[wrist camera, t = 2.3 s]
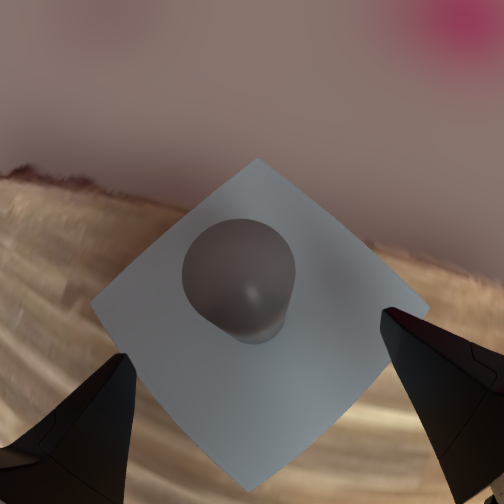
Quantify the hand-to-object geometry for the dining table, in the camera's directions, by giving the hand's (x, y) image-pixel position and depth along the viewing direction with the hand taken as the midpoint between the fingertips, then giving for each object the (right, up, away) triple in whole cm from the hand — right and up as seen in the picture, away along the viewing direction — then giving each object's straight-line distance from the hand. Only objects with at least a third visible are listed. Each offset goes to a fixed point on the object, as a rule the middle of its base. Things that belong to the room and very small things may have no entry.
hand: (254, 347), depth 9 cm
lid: (0, -1, +7) cm, 7 cm away
